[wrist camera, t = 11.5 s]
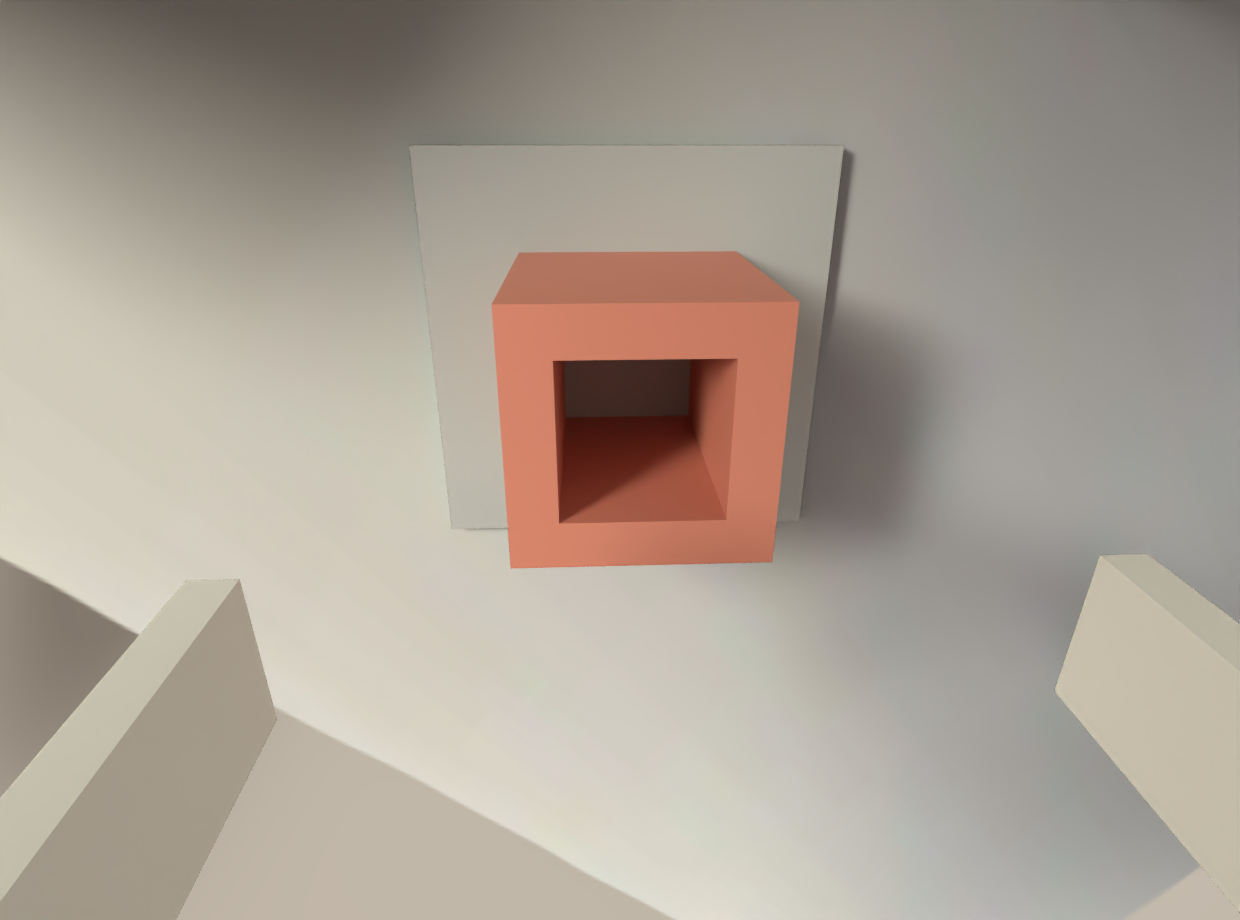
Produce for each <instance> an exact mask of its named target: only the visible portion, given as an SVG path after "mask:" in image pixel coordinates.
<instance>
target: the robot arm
mask: <svg viewBox="0 0 1240 920" xmlns="http://www.w3.org/2000/svg"><path fill="white" fill-rule="evenodd" d="M1055 692H1056V693H1057V695H1058V696H1059V697H1060V698H1061V699H1062V701H1063V702H1064V703H1065V704H1066V705H1067V707H1068V708H1069V709H1070V710H1071V711H1072V713H1073V714H1074V715H1075V716H1076V717H1077V719H1078V720H1079V721H1080V722H1081V723H1082V725H1083V726H1084V727H1085V728H1086V729H1087V731H1088V732H1089V733H1090V734H1091V735H1092V737H1093V738H1094V739H1095V740H1096V741H1097V743H1098V744H1099V745H1100V746H1101V747H1102V749H1103V750H1104V751H1105V752H1106V753H1107V755H1108V756H1109V757H1110V758H1111V759H1112V760H1113V762H1114V763H1115V764H1116V765H1117V766H1118V768H1119V769H1120V770H1121V771H1122V772H1123V774H1124V775H1125V776H1126V777H1127V778H1128V780H1129V781H1130V782H1131V783H1132V784H1133V786H1134V787H1135V788H1136V789H1137V790H1138V792H1139V793H1140V794H1141V795H1142V796H1143V798H1144V799H1145V800H1146V801H1147V802H1148V804H1149V805H1150V806H1151V807H1152V808H1153V810H1154V811H1155V812H1156V813H1157V814H1158V816H1159V817H1160V818H1161V819H1162V820H1163V822H1164V823H1165V824H1166V825H1167V826H1168V828H1169V829H1170V830H1171V831H1172V832H1173V834H1174V835H1175V836H1176V837H1177V838H1178V840H1179V841H1180V842H1181V843H1182V844H1183V846H1184V847H1185V848H1186V849H1187V850H1188V852H1189V853H1190V854H1191V855H1192V856H1193V858H1194V859H1195V860H1196V861H1197V862H1198V864H1199V865H1200V866H1201V867H1202V868H1203V870H1204V871H1205V872H1206V873H1207V874H1208V875H1209V877H1210V878H1211V879H1212V880H1213V881H1214V883H1215V884H1216V885H1217V886H1218V887H1219V889H1220V890H1221V891H1222V892H1223V894H1224V895H1225V896H1226V897H1227V898H1228V899H1229V901H1230V902H1231V903H1232V904H1233V906H1234V907H1235V908H1236V909H1237V910H1238V911H1239V913H1240V624H1239V623H1237V622H1236V621H1235V620H1234V619H1232V618H1231V617H1230V616H1228V615H1227V614H1226V613H1224V612H1223V611H1222V610H1220V609H1219V608H1218V607H1216V606H1215V605H1214V604H1213V603H1211V602H1210V601H1209V600H1207V599H1206V598H1205V597H1203V596H1202V595H1201V594H1199V593H1198V592H1197V591H1195V590H1194V589H1193V588H1191V587H1190V586H1189V585H1188V584H1186V583H1185V582H1184V581H1182V580H1181V579H1180V578H1178V577H1177V576H1176V575H1174V574H1173V573H1172V572H1170V571H1169V570H1168V569H1167V568H1165V567H1164V566H1163V565H1161V564H1160V563H1159V562H1157V561H1156V560H1155V559H1153V558H1152V557H1151V556H1149V555H1148V554H1129V555H1100V557H1099V560H1098V563H1097V566H1096V569H1095V572H1094V575H1093V578H1092V581H1091V584H1090V587H1089V590H1088V593H1087V596H1086V599H1085V602H1084V605H1083V608H1082V611H1081V614H1080V617H1079V620H1078V623H1077V626H1076V629H1075V632H1074V635H1073V637H1072V640H1071V643H1070V646H1069V649H1068V652H1067V655H1066V658H1065V661H1064V664H1063V667H1062V670H1061V673H1060V676H1059V679H1058V682H1057V685H1056V688H1055ZM276 721H277V717H276V713H275V710H274V706H273V702H272V698H271V695H270V691H269V687H268V684H267V680H266V676H265V672H264V669H263V665H262V661H261V658H260V654H259V650H258V646H257V643H256V639H255V635H254V631H253V628H252V624H251V620H250V617H249V613H248V609H247V605H246V602H245V598H244V594H243V590H242V587H241V583H240V579H227V580H191V581H185V583H184V584H183V585H182V586H181V587H180V588H179V590H178V591H177V592H176V593H175V594H174V595H173V597H172V598H171V599H170V600H169V601H168V602H167V604H166V605H165V606H164V607H163V608H162V609H161V611H160V612H159V613H158V614H157V615H156V616H155V618H154V619H153V620H152V621H151V622H150V623H149V625H148V626H147V627H146V628H145V629H144V630H143V632H142V633H141V634H140V635H139V636H138V637H137V639H136V640H135V641H134V642H133V643H132V644H131V646H130V647H129V648H128V649H127V650H126V651H125V653H124V654H123V655H122V656H121V657H120V659H119V660H118V661H117V662H116V663H115V664H114V666H113V667H112V668H111V669H110V670H109V672H108V673H107V674H106V675H105V676H104V677H103V678H102V680H101V681H100V682H99V683H98V684H97V685H96V687H95V688H94V689H93V690H92V691H91V692H90V694H89V695H88V696H87V697H86V698H85V699H84V701H83V702H82V703H81V704H80V705H79V706H78V708H77V709H76V710H75V711H74V712H73V713H72V715H71V716H70V717H69V718H68V719H67V720H66V722H65V723H64V724H63V725H62V726H61V727H60V729H59V730H58V731H57V732H56V733H55V735H54V736H53V737H52V738H51V739H50V740H49V742H48V743H47V744H46V745H45V746H44V747H43V749H42V750H41V751H40V752H39V753H38V754H37V756H36V757H35V758H34V759H33V760H32V761H31V762H30V764H29V765H28V766H27V767H26V768H25V769H24V771H23V772H22V773H21V774H20V775H19V777H18V778H17V779H16V780H15V781H14V782H13V784H12V785H11V786H10V787H9V788H8V789H7V791H6V792H5V793H4V794H3V795H2V796H1V798H0V920H176V918H177V917H178V915H179V913H180V911H181V909H182V907H183V905H184V903H185V901H186V899H187V897H188V895H189V893H190V891H191V889H192V887H193V885H194V883H195V881H196V879H197V877H198V875H199V873H200V871H201V869H202V867H203V865H204V863H205V861H206V859H207V857H208V855H209V853H210V852H211V849H212V848H213V846H214V843H215V842H216V840H217V838H218V836H219V833H220V832H221V829H222V828H223V826H224V824H225V822H226V820H227V818H228V816H229V814H230V812H231V810H232V808H233V806H234V804H235V802H236V800H237V798H238V796H239V794H240V792H241V790H242V788H243V786H244V784H245V782H246V780H247V778H248V776H249V774H250V772H251V770H252V768H253V766H254V764H255V762H256V760H257V758H258V756H259V754H260V752H261V751H262V748H263V747H264V745H265V743H266V741H267V739H268V737H269V735H270V733H271V731H272V729H273V727H274V725H275V723H276Z"/></svg>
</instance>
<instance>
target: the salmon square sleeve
mask: <svg viewBox="0 0 1240 920" xmlns="http://www.w3.org/2000/svg"><path fill="white" fill-rule="evenodd" d="M799 303H800V302H799V301H798V300H797V299H795V298H794V297H793V296H792V295H790V294H789V293H788V292H787V291H785V290H784V289H783V288H782V287H780V286H779V285H778V284H777V283H775V282H774V281H773V280H772V279H770V278H769V277H768V276H766V275H765V274H764V273H763V272H761V271H760V270H759V269H758V268H756V267H755V266H754V265H753V264H751V263H750V262H749V261H748V260H746V259H745V258H744V257H743V256H741V255H740V254H739V253H738V252H736V251H695V252H519V253H518V255H517V257H516V259H515V261H514V263H513V265H512V267H511V269H510V270H509V272H508V274H507V276H506V278H505V280H504V282H503V284H502V285H501V287H500V289H499V291H498V293H497V295H496V297H495V299H494V301H493V302H492V304H491V306H492V319H493V333H494V347H495V360H496V374H497V388H498V401H499V415H500V429H501V442H502V456H503V470H504V483H505V497H506V511H507V524H508V538H509V552H510V565H511V568H544V567H586V566H628V565H670V564H711V563H753V562H772V559H773V549H774V540H775V530H776V521H777V511H778V502H779V492H780V483H781V473H782V464H783V454H784V445H785V435H786V426H787V416H788V407H789V397H790V388H791V378H792V369H793V359H794V350H795V340H796V331H797V322H798V312H799ZM657 359H691V363H690V386H689V409H688V416H626V417H566V408H565V377H564V361H573V360H657Z"/></svg>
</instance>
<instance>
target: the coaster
mask: <svg viewBox="0 0 1240 920" xmlns="http://www.w3.org/2000/svg"><path fill="white" fill-rule="evenodd" d="M843 150H844V146H842V145H409V151H410V160H411V169H412V178H413V187H414V196H415V205H416V214H417V223H418V232H419V241H420V250H421V259H422V268H423V277H424V286H425V295H426V304H427V313H428V322H429V331H430V340H431V349H432V358H433V367H434V376H435V385H436V394H437V403H438V412H439V421H440V430H441V439H442V448H443V457H444V466H445V475H446V484H447V493H448V502H449V511H450V520H451V529H476V528H508V524H507V511H506V497H505V483H504V470H503V456H502V442H501V429H500V415H499V401H498V388H497V374H496V360H495V347H494V333H493V319H492V306H491V304H492V302H493V301H494V299H495V297H496V295H497V293H498V291H499V289H500V287H501V285H502V284H503V282H504V280H505V278H506V276H507V274H508V272H509V270H510V269H511V267H512V265H513V263H514V261H515V259H516V257H517V255H518V253H519V252H695V251H736V252H738V253H739V254H740V255H741V256H743V257H744V258H745V259H746V260H748V261H749V262H750V263H751V264H753V265H754V266H755V267H756V268H758V269H759V270H760V271H761V272H763V273H764V274H765V275H766V276H768V277H769V278H770V279H772V280H773V281H774V282H775V283H777V284H778V285H779V286H780V287H782V288H783V289H784V290H785V291H787V292H788V293H789V294H790V295H792V296H793V297H794V298H795V299H797V300H798V301H799V302H800V303H799V312H798V322H797V331H796V340H795V350H794V359H793V369H792V378H791V388H790V397H789V407H788V416H787V426H786V435H785V445H784V454H783V464H782V473H781V483H780V492H779V502H778V511H777V521H776V522H795V521H799V517H800V509H801V500H802V492H803V484H804V475H805V467H806V459H807V450H808V442H809V434H810V425H811V417H812V409H813V400H814V392H815V383H816V375H817V367H818V358H819V350H820V342H821V333H822V325H823V317H824V308H825V300H826V292H827V283H828V275H829V267H830V258H831V250H832V242H833V233H834V225H835V217H836V208H837V200H838V191H839V183H840V175H841V166H842V158H843ZM690 363H691V359H657V360H573V361H564V377H565V408H566V417H626V416H688V409H689V386H690Z"/></svg>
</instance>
